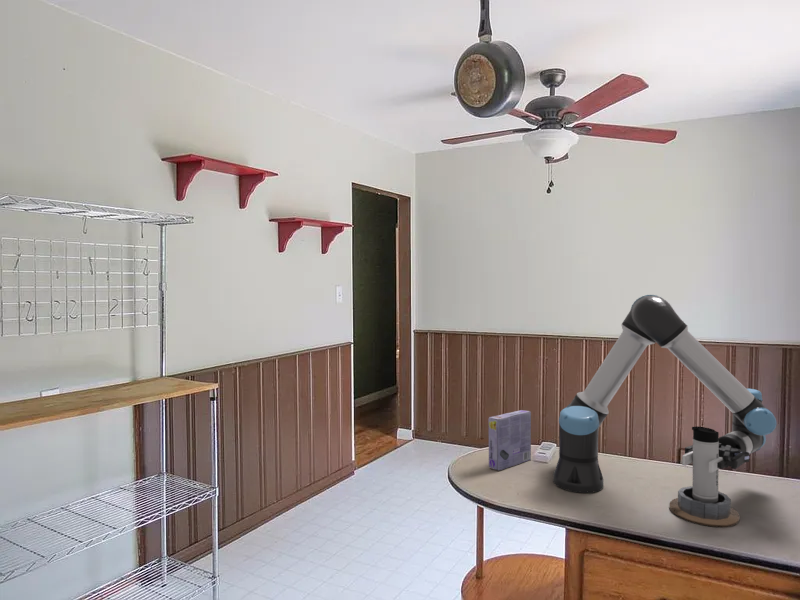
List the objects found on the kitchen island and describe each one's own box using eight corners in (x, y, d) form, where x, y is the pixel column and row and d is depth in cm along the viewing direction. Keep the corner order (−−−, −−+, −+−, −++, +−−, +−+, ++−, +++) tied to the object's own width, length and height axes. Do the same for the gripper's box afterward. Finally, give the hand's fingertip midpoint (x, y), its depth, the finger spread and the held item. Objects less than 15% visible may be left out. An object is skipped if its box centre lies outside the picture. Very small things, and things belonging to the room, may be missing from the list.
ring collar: (655, 504, 159) (656, 487, 159) (702, 497, 165) (702, 480, 164) (704, 531, 143) (705, 512, 143) (754, 521, 148) (755, 503, 148)
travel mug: (686, 494, 157) (687, 424, 156) (710, 494, 157) (711, 424, 156) (698, 503, 151) (698, 430, 150) (722, 503, 150) (723, 430, 150)
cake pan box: (522, 455, 202) (522, 407, 201) (533, 459, 198) (534, 410, 197) (487, 468, 190) (487, 417, 189) (498, 472, 186) (498, 420, 185)
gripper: (769, 468, 157) (735, 488, 143) (699, 451, 172) (661, 467, 158) (770, 441, 156) (735, 459, 142) (699, 427, 171) (661, 441, 157)
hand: (696, 464), depth 150 cm, fingers closed on travel mug, 6 cm apart
